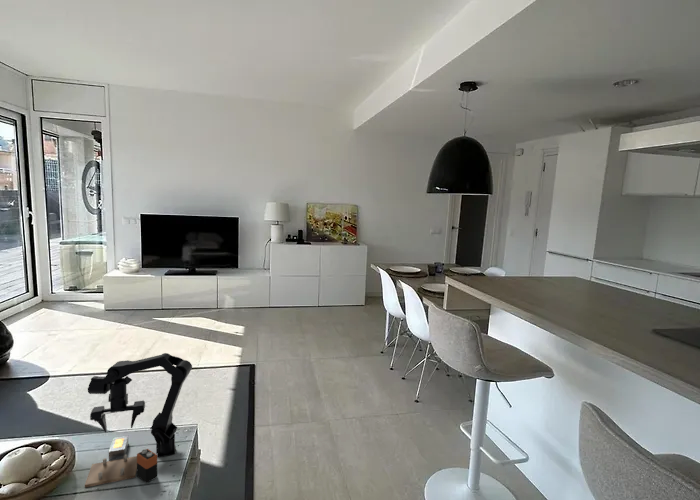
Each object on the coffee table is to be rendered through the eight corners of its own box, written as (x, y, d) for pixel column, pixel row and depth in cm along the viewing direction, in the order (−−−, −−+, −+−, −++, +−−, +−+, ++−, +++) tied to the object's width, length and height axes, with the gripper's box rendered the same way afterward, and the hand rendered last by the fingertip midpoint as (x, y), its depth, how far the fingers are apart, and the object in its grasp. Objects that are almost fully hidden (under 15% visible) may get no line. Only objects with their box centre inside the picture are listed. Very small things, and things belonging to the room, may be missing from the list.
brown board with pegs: (139, 457, 155) (138, 450, 154) (135, 477, 144) (135, 469, 143) (92, 466, 148) (92, 458, 148) (84, 487, 137) (84, 479, 137)
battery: (146, 483, 141) (146, 458, 140) (136, 476, 144) (136, 451, 143) (157, 477, 144) (157, 452, 143) (147, 470, 148) (147, 445, 147)
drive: (113, 446, 161) (113, 437, 161) (128, 444, 164) (128, 435, 163) (108, 461, 152) (108, 451, 152) (124, 458, 154) (124, 448, 154)
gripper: (146, 381, 166) (146, 415, 168) (95, 387, 159) (96, 423, 161) (143, 393, 156) (143, 429, 158) (89, 400, 149) (90, 438, 150)
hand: (118, 429), depth 157 cm, fingers open, 9 cm apart
